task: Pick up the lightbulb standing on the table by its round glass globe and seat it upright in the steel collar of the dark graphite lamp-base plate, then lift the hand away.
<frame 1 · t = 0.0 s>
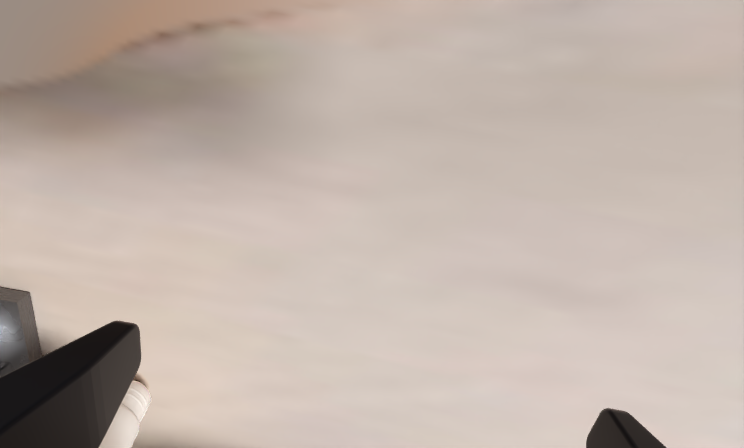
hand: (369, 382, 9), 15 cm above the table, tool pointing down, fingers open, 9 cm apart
lightbulb: (139, 383, 30), on the table
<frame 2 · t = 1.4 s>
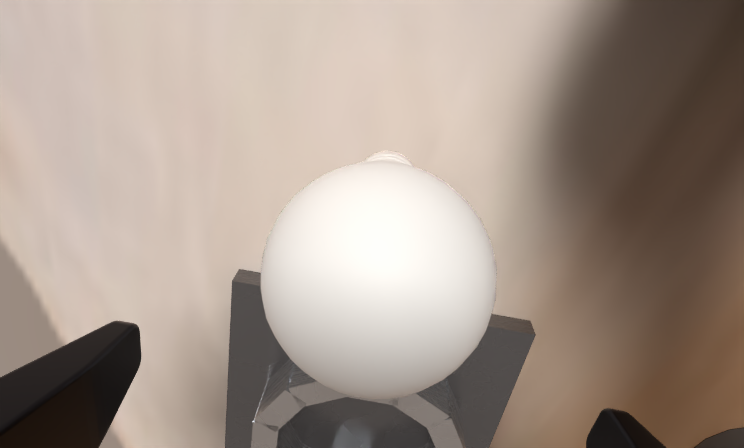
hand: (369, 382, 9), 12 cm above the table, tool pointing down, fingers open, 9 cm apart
lightbulb: (388, 172, 20), on the table
bulb socket: (362, 400, 25), on the table
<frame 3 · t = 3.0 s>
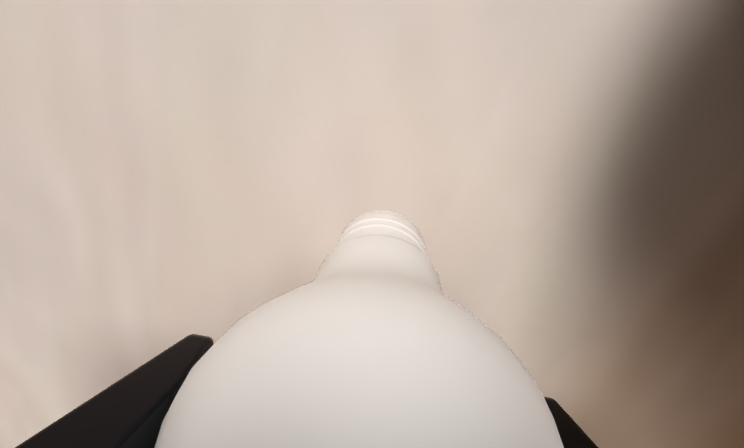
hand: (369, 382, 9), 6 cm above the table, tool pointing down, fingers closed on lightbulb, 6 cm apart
lightbulb: (383, 233, 15), on the table, touching gripper
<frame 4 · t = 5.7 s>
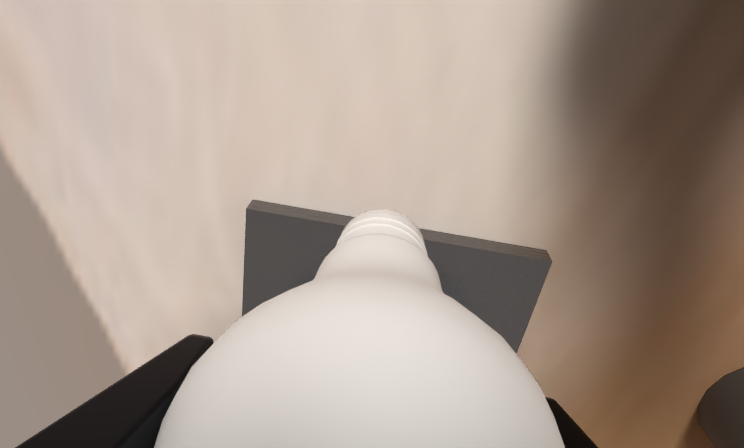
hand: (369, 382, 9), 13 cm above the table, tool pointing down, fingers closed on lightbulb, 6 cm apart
lightbulb: (383, 232, 15), point 7 cm above the table, touching gripper
bulb socket: (376, 339, 25), on the table
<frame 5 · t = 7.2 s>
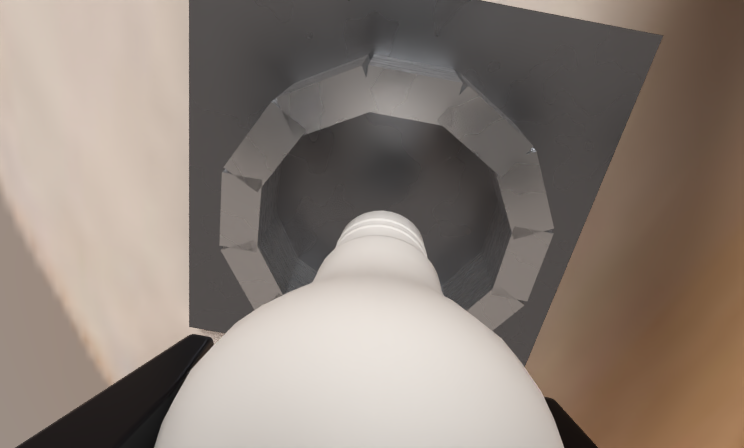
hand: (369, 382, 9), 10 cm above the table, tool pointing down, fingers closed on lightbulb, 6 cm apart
lightbulb: (382, 233, 15), point 3 cm above the table, touching gripper
bulb socket: (385, 196, 18), on the table
when the fingers open (8 cm above the table, at t = 8.4 s): lightbulb stays where it is, resting on bulb socket.
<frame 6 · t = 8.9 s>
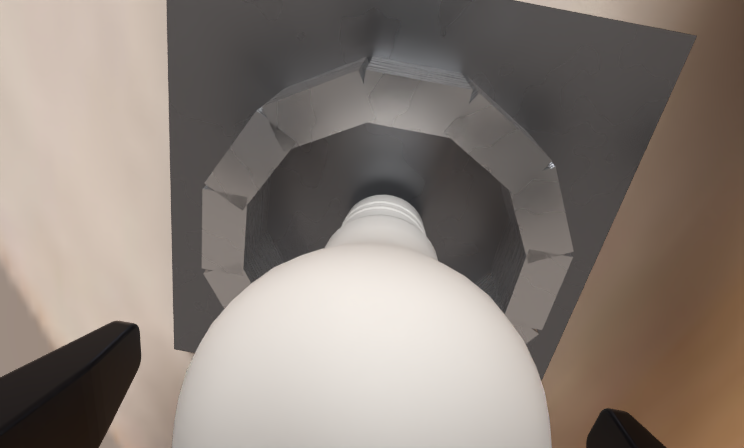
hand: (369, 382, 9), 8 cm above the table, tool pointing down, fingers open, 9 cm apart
lightbulb: (385, 217, 15), point 1 cm above the table, touching bulb socket
bulb socket: (385, 210, 16), on the table
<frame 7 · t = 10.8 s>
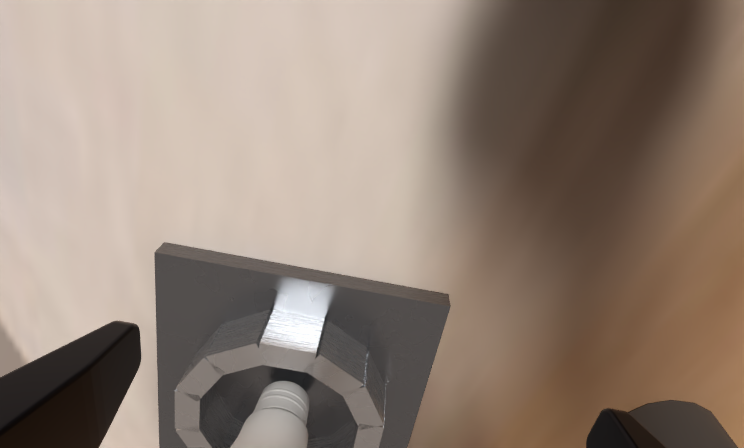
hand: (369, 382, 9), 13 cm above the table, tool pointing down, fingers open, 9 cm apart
lightbulb: (289, 385, 25), point 1 cm above the table, touching bulb socket
candle holder: (659, 438, 27), on the table
bulb socket: (292, 376, 26), on the table
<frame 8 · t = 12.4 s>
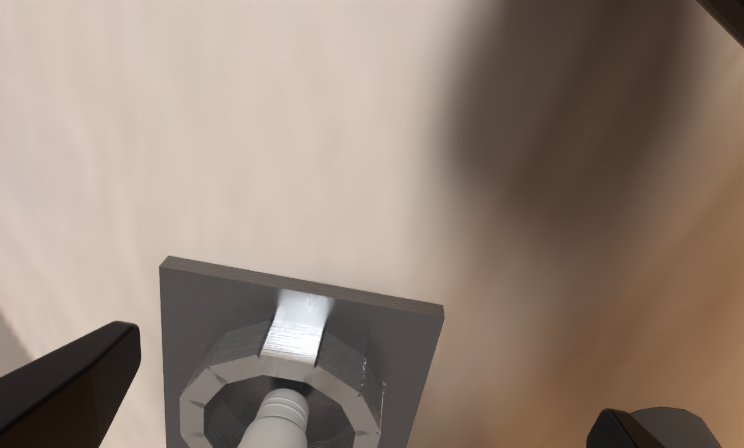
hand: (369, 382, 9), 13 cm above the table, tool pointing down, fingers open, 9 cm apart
lightbulb: (290, 391, 26), point 1 cm above the table, touching bulb socket
candle holder: (651, 442, 27), on the table
bulb socket: (293, 382, 27), on the table
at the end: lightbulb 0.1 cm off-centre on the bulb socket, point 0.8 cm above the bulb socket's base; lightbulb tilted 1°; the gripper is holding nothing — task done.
